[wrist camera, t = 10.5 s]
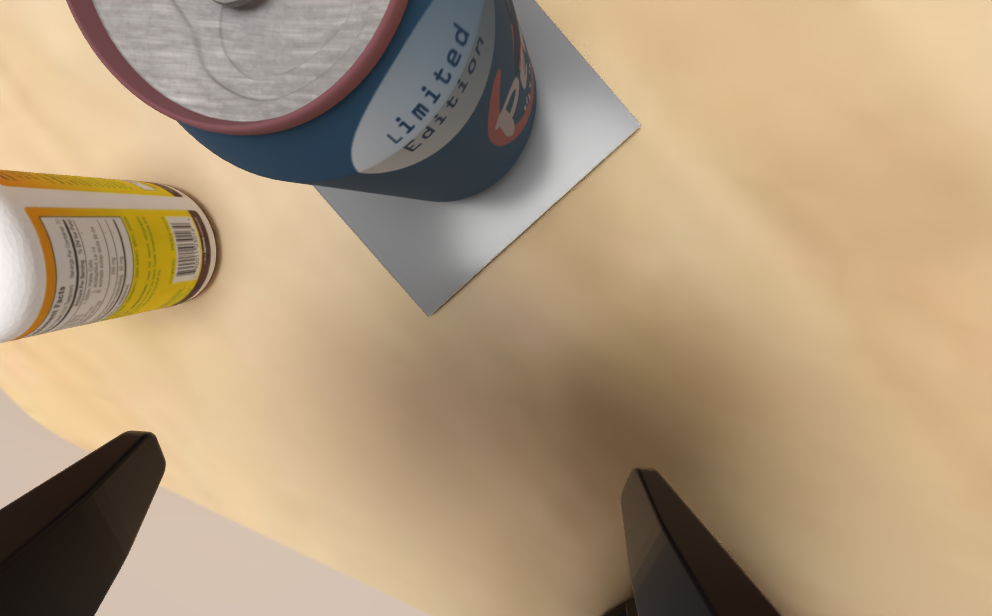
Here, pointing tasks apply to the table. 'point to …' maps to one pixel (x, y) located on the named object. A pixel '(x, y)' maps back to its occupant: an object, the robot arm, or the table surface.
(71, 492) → the robot arm
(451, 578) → the table surface
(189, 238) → the supplement bottle
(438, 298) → the coaster
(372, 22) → the soda can
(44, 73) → the table surface
